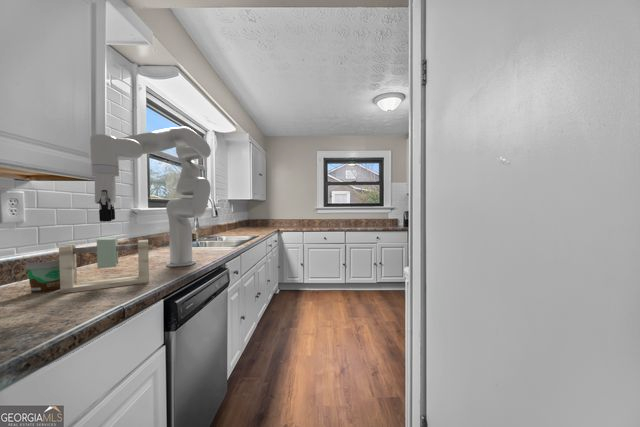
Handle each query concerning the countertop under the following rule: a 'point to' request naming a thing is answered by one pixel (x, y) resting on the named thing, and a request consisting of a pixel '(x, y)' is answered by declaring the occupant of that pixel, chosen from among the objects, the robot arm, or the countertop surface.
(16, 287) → the countertop surface
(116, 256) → the sage green brick
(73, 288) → the shelf stand
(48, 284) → the food container
